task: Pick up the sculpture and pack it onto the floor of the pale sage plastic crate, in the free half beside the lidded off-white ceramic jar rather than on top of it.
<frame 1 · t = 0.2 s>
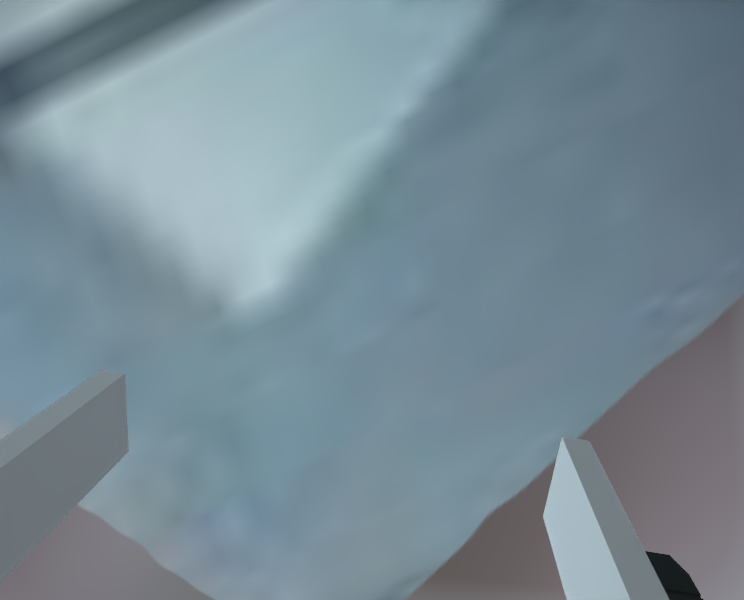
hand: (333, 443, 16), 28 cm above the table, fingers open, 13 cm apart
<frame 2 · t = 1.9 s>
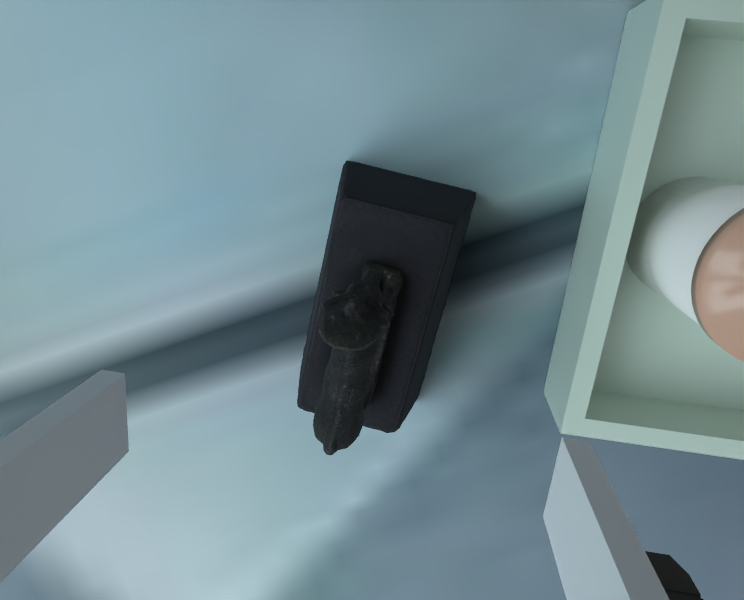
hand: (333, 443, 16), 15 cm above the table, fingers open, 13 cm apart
jar: (687, 237, 27), point 1 cm above the table, touching tote
sculpture: (383, 287, 31), on the table
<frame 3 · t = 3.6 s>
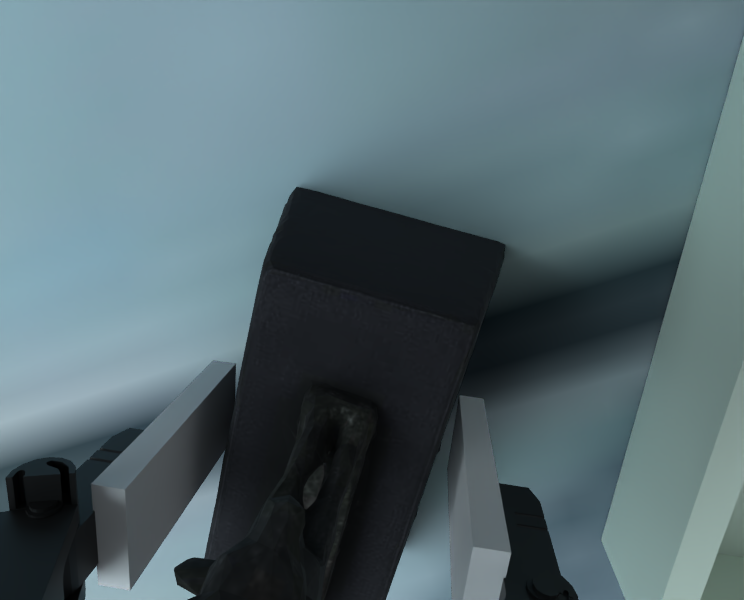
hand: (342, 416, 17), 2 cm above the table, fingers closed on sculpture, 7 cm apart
sculpture: (353, 383, 20), on the table, touching gripper
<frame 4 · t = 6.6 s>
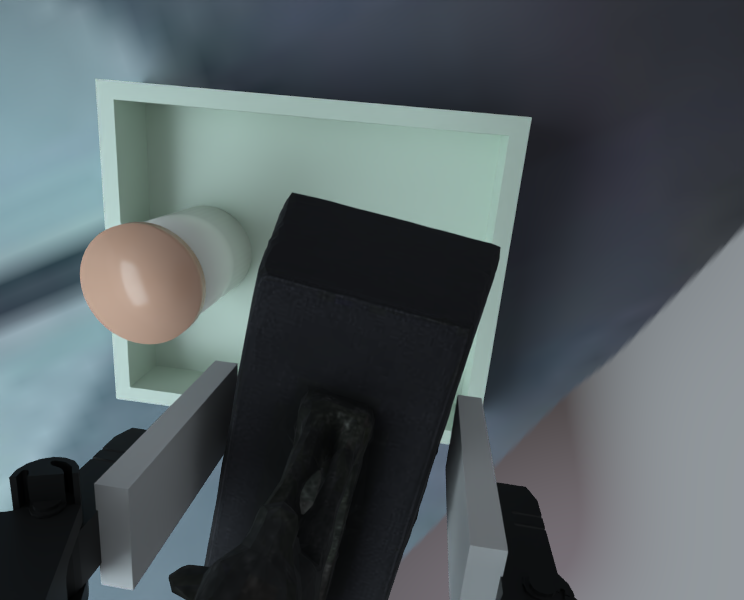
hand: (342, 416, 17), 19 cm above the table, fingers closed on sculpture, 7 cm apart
jar: (208, 250, 36), point 1 cm above the table, touching tote
tote: (314, 258, 36), on the table
sculpture: (352, 387, 20), point 17 cm above the table, touching gripper
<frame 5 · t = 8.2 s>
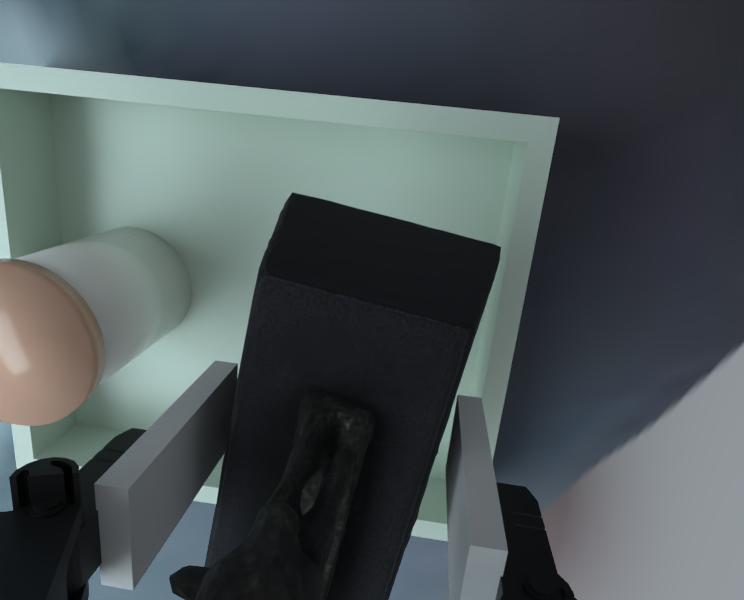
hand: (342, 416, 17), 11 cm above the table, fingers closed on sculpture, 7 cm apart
jar: (136, 284, 28), point 1 cm above the table, touching tote
tote: (272, 295, 28), on the table
sculpture: (352, 387, 20), point 9 cm above the table, touching gripper
when the fingers open (5 cm above the table, at t = 9.7 s): sculpture drops 2 cm, resting on tote.
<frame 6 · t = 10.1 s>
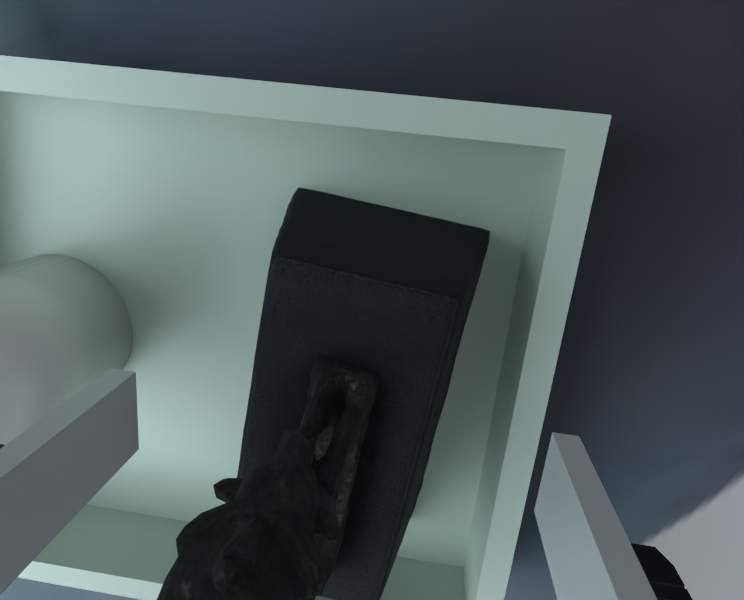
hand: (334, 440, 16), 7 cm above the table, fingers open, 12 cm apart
jar: (64, 324, 22), point 1 cm above the table, touching tote
tote: (235, 338, 23), on the table
sculpture: (358, 365, 22), point 1 cm above the table, touching tote
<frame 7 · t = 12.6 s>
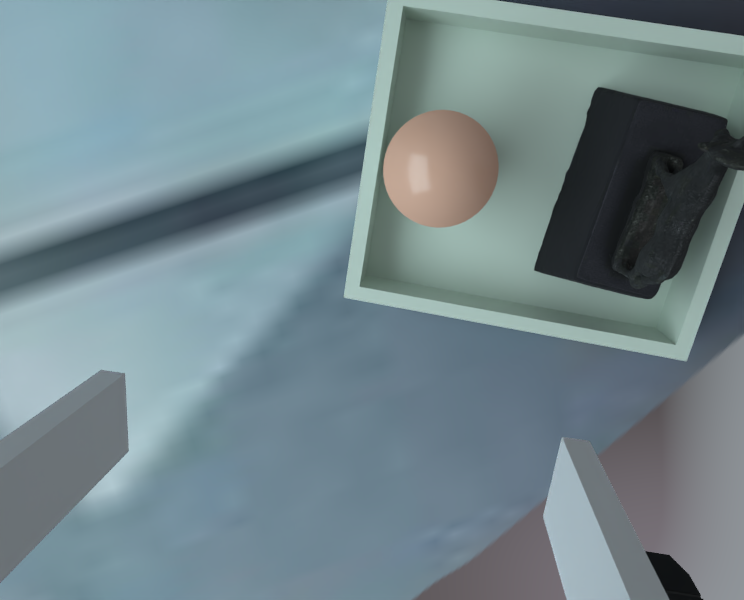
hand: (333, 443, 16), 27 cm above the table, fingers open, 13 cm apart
jar: (439, 164, 38), point 1 cm above the table, touching tote
tote: (535, 180, 39), on the table
sculpture: (613, 195, 38), point 1 cm above the table, touching tote
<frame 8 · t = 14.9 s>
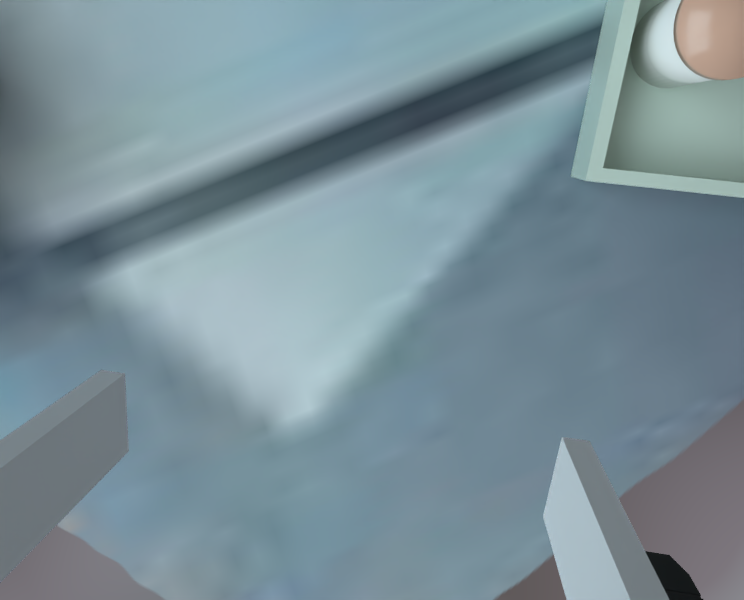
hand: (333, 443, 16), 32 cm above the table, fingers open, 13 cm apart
jar: (673, 43, 38), point 1 cm above the table, touching tote
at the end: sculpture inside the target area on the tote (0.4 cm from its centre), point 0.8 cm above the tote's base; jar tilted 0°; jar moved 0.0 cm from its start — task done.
